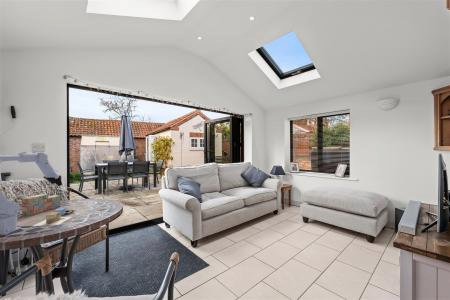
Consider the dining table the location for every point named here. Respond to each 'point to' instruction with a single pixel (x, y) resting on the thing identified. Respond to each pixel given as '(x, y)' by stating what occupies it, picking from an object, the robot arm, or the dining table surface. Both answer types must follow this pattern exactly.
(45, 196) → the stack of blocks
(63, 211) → the blue cube
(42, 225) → the letter card
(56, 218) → the oak block
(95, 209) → the dining table surface
